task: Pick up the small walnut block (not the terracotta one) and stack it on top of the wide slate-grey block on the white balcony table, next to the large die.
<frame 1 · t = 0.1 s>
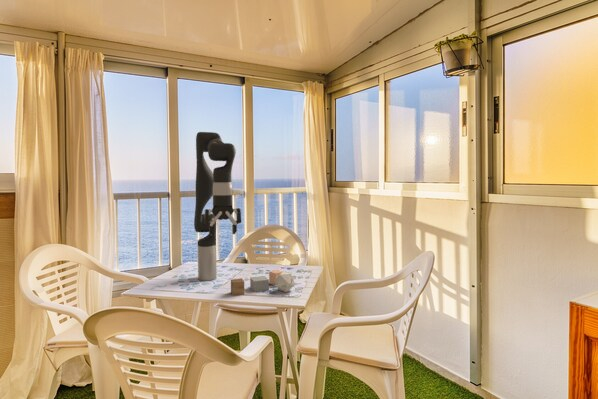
hand: (223, 234, 146), 29 cm above the table, fingers open, 8 cm apart
walnut block: (237, 293, 165), on the table
terracotta block: (276, 283, 180), on the table
slate block: (259, 289, 172), on the table
die: (284, 290, 169), on the table
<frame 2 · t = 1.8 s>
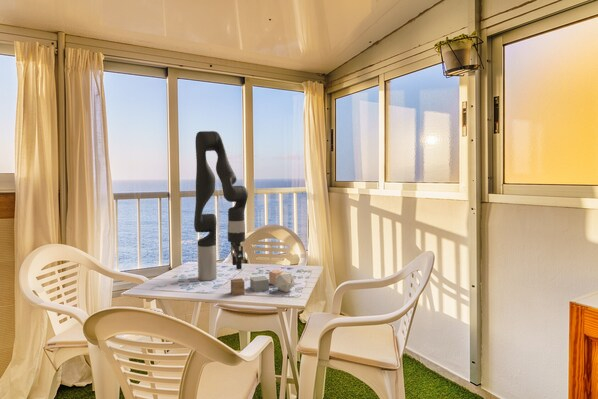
hand: (236, 267, 164), 12 cm above the table, fingers open, 8 cm apart
nothing on the table moved.
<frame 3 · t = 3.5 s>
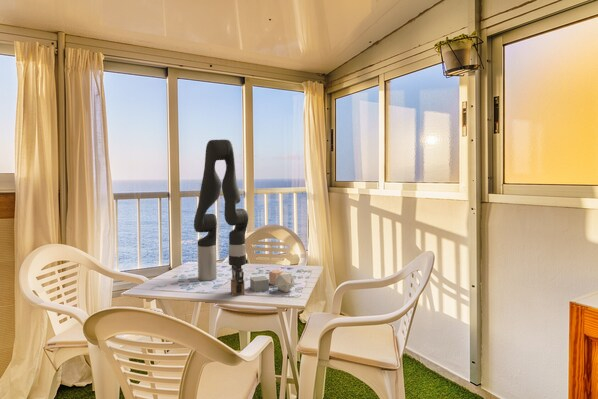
hand: (237, 291, 165), 1 cm above the table, fingers closed on walnut block, 5 cm apart
walnut block: (237, 293, 165), on the table, touching gripper
everything else where it was.
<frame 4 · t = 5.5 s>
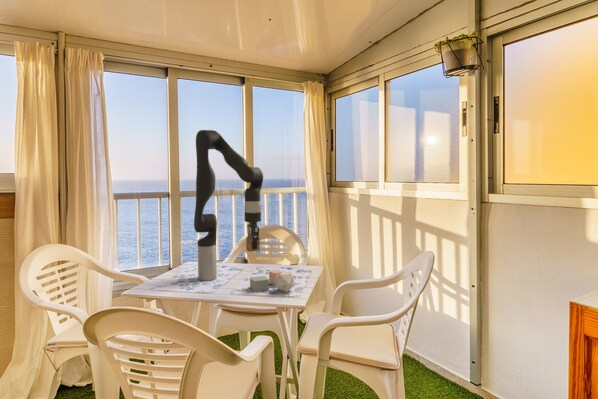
hand: (253, 248, 168), 20 cm above the table, fingers closed on walnut block, 5 cm apart
walnut block: (253, 250, 168), point 19 cm above the table, touching gripper
everything else where it was.
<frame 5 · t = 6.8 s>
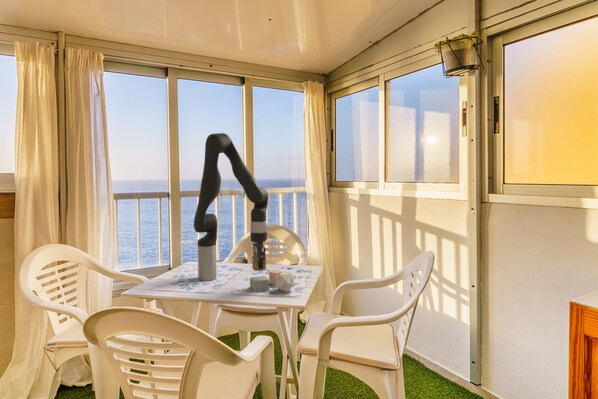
hand: (259, 267, 171), 10 cm above the table, fingers closed on walnut block, 5 cm apart
walnut block: (259, 269, 171), point 9 cm above the table, touching gripper
everything else where it was.
when the fingers open (7 cm above the table, at t = 8.0 s): walnut block stays where it is, resting on slate block.
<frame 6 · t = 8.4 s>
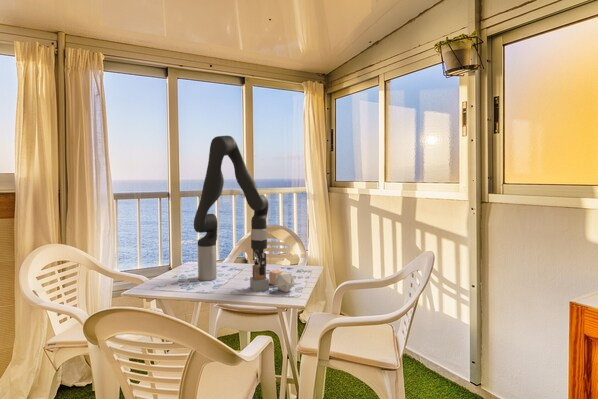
hand: (259, 272, 171), 8 cm above the table, fingers open, 8 cm apart
walnut block: (259, 278, 172), point 5 cm above the table, touching slate block
slate block: (259, 289, 172), on the table, touching walnut block
everything else where it was.
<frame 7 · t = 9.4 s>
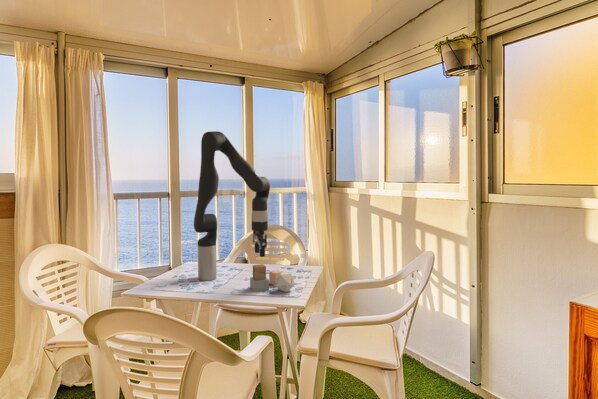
hand: (259, 254, 171), 16 cm above the table, fingers open, 8 cm apart
nothing on the table moved.
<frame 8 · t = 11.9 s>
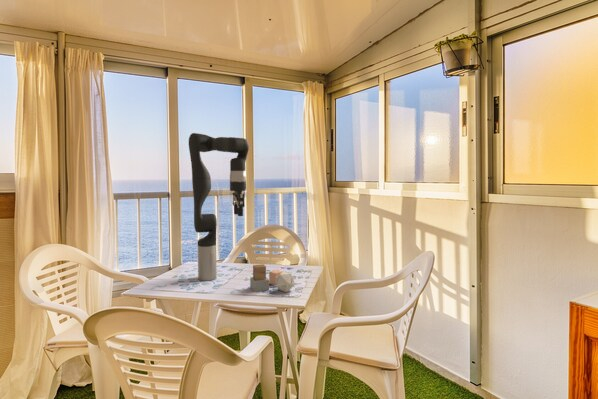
hand: (238, 215, 173), 34 cm above the table, fingers open, 8 cm apart
nothing on the table moved.
at the end: walnut block 0.1 cm from the slate block (horizontally); walnut block point 4.8 cm above the table; walnut block tilted 0° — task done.
